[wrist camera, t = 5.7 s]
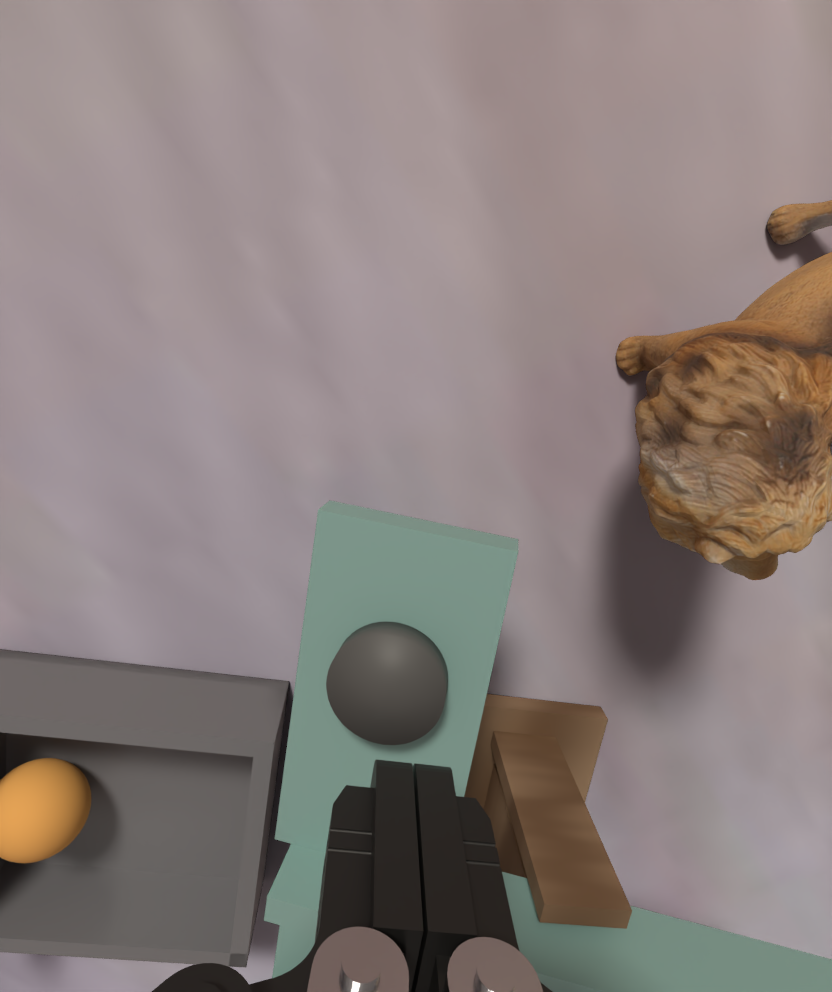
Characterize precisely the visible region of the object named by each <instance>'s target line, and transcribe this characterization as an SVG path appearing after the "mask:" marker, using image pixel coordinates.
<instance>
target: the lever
mask: <svg viewBox="0 0 832 992" xmlns="http://www.w3.org/2000/svg"><path fill="white" fill-rule="evenodd" d="M517 555H518V539H514V538H509V537H504V536H499V535H495V534H490V533H485V532H480V531H475V530H470V529H465V528H461V527H456V526H451V525H446V524H441V523H436V522H432V521H427V520H422V519H417V518H412V517H407V516H402V515H398V514H393V513H388V512H383V511H378V510H373V509H369V508H364V507H359V506H354V505H349V504H344V503H339V502H335V501H329V502H327V503H326V504H325V505H324V506H322V507H321V508H320V509H319V510H318V516H317V523H316V531H315V538H314V546H313V553H312V561H311V569H310V576H309V584H308V591H307V599H306V606H305V614H304V621H303V629H302V636H301V644H300V652H299V659H298V667H297V674H296V682H295V689H294V697H293V704H292V712H291V719H290V727H289V735H288V742H287V750H286V757H285V765H284V772H283V780H282V787H281V795H280V802H279V810H278V817H277V825H276V833H275V839H276V840H279V841H283V842H287V843H290V844H291V845H290V847H289V849H288V852H287V854H286V856H285V858H284V860H283V863H282V865H281V867H280V869H279V871H278V874H277V876H276V878H275V880H274V882H273V885H272V887H271V889H270V891H269V893H268V896H267V901H266V908H265V916H264V921H267V922H270V923H274V924H277V925H280V926H279V933H278V940H277V948H276V955H275V962H274V969H273V976H272V978H275V977H277V976H280V975H283V974H284V973H286V972H288V971H290V970H292V969H293V968H294V967H296V966H297V965H298V964H300V963H301V962H302V961H303V960H304V959H305V958H306V956H307V955H308V954H309V952H310V951H311V949H312V948H313V946H314V944H315V935H316V926H317V918H318V909H319V900H320V891H321V883H322V874H323V866H324V859H325V853H326V846H327V840H328V833H329V827H330V820H331V813H332V807H333V803H334V802H335V800H336V799H337V797H338V796H339V795H340V793H341V792H342V790H343V789H344V787H345V786H346V785H350V786H360V787H370V785H371V779H372V773H373V767H374V763H375V760H376V759H377V760H386V761H395V762H405V763H412V765H414V763H416V764H425V765H435V766H444V767H451V769H452V773H453V780H454V786H455V793H456V796H460V797H464V795H465V791H466V786H467V781H468V777H469V772H470V768H471V763H472V759H473V754H474V750H475V745H476V741H477V736H478V732H479V727H480V723H481V718H482V714H483V709H484V704H485V700H486V695H487V691H488V686H489V682H490V677H491V673H492V668H493V664H494V659H495V655H496V650H497V646H498V641H499V636H500V632H501V627H502V623H503V618H504V614H505V609H506V605H507V600H508V596H509V591H510V587H511V582H512V578H513V573H514V569H515V564H516V559H517ZM502 875H503V879H504V884H505V888H506V893H507V898H508V902H509V907H510V911H511V916H512V921H513V925H514V930H515V935H516V939H517V944H518V947H519V950H520V952H521V953H522V954H523V955H524V956H525V957H526V958H527V959H528V961H529V962H530V963H531V965H532V966H533V968H534V969H535V971H536V973H537V975H538V978H539V980H540V982H541V983H542V984H544V985H545V986H546V987H547V988H548V989H550V990H551V991H553V992H832V959H828V958H825V957H821V956H817V955H813V954H810V953H806V952H802V951H798V950H795V949H791V948H787V947H783V946H780V945H776V944H772V943H768V942H764V941H761V940H757V939H753V938H749V937H746V936H742V935H738V934H734V933H731V932H727V931H723V930H719V929H716V928H712V927H708V926H704V925H701V924H697V923H693V922H689V921H686V920H682V919H678V918H674V917H671V916H667V915H663V914H659V913H656V912H652V911H648V910H644V909H641V908H637V907H633V906H630V907H631V909H632V913H631V916H630V920H629V923H628V926H627V929H623V928H609V927H596V926H582V925H569V924H555V923H542V922H539V919H538V915H537V911H536V908H535V904H534V900H533V897H532V893H531V890H530V886H529V882H528V879H527V878H524V877H520V876H517V875H513V874H509V873H505V872H502Z"/></svg>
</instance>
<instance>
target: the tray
mask: <svg viewBox="0 0 832 992" xmlns="http://www.w3.org/2000/svg"><path fill="white" fill-rule="evenodd" d="M288 687H289V681H281V680H272V679H263V678H254V677H245V676H236V675H227V674H218V673H209V672H200V671H191V670H182V669H173V668H164V667H155V666H146V665H137V664H128V663H119V662H110V661H101V660H92V659H83V658H74V657H65V656H56V655H47V654H38V653H29V652H20V651H11V650H2V649H0V780H1V779H2V778H3V777H4V776H5V775H6V774H7V773H9V772H10V771H12V770H13V769H14V768H16V767H18V766H20V765H22V764H24V763H26V762H29V761H33V760H36V759H42V758H56V759H61V760H65V761H67V762H70V763H72V764H73V765H75V766H76V767H77V768H79V769H80V770H81V771H82V773H83V774H84V775H85V777H86V778H87V780H88V783H89V786H90V790H91V807H90V812H89V815H88V818H87V820H86V823H85V825H84V827H83V828H82V830H81V831H80V833H79V834H78V835H77V837H76V838H75V839H74V840H73V841H72V842H71V843H70V844H69V845H68V846H67V847H65V848H64V849H63V850H62V851H60V852H58V853H57V854H55V855H53V856H51V857H49V858H47V859H44V860H41V861H38V862H33V863H15V862H10V861H7V860H4V859H2V858H1V857H0V952H9V953H25V954H41V955H57V956H73V957H89V958H104V959H120V960H136V961H152V962H168V963H184V964H201V963H216V964H222V965H225V966H232V967H246V965H247V960H248V955H249V950H250V945H251V940H252V935H253V930H254V925H255V920H256V915H257V910H258V905H259V900H260V895H261V890H262V885H263V880H264V872H265V864H266V857H267V849H268V841H269V833H270V826H271V818H272V810H273V803H274V795H275V787H276V779H277V772H278V764H279V756H280V749H281V741H282V733H283V725H284V718H285V710H286V702H287V695H288Z"/></svg>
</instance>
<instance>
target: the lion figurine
mask: <svg viewBox="0 0 832 992" xmlns="http://www.w3.org/2000/svg"><path fill="white" fill-rule="evenodd" d="M828 226H832V200H831V201H826V202H822V203H812V204H791V205H785V206H782V207H780V208H778V209H776V210H775V211H773V212H772V214H771V216H770V218H769V220H768V223H767V229H768V231H769V233H770V235H771V237H772V240H773V241H774V242H775V243H777V244H783V245H784V244H788V243H793V242H795V241H797V240H799V239H800V238H802V237H804V236H805V235H807V234H809V233H811V232H813V231H815V230H818V229H821V228H824V227H828ZM616 361H617V365H618V367H619V368H620V369H622V370H623V371H624V372H625V373H626V374H627V375H629V376H630V375H635V374H637V373H639V372H641V371H643V370H646V371H650V372H649V373H648V375H647V378H646V390H647V395H646V397H645V398H644V399H643V400H641V401H640V402H639V403H638V405H637V406H636V408H635V414H636V421H637V423H636V425H635V427H636V434H637V438H638V441H639V444H640V447H641V449H640V458H641V462H640V464H639V471H640V475H639V478H638V482H639V484H640V486H641V487H642V488H641V493H642V495H643V497H644V499H645V501H646V503H647V504H648V511H649V516H650V520H651V522H652V524H653V525H654V527H655V528H656V530H657V532H658V533H659V535H660V537H661V538H663V539H665V540H669V541H671V542H674V543H677V544H679V545H681V546H682V547H685V548H688V549H690V551H693V552H697V553H699V554H701V555H702V556H703V557H704V558H705V559H706V560H707V561H709V562H710V563H715V564H722V565H723V566H724V567H725V568H726V569H728V570H730V571H732V572H734V573H737V574H740V575H743V576H745V577H746V578H748V579H751V580H761V579H765V578H767V577H769V576H771V575H772V574H773V573H774V572H775V571H776V569H777V566H778V555H780V554H784V553H786V552H793V553H797V552H799V551H801V550H802V549H804V548H805V547H806V546H808V545H809V544H810V542H811V541H812V537H813V535H814V534H815V533H817V532H819V531H820V530H821V529H823V527H824V526H825V524H826V522H828V521H832V479H831V477H832V456H831V451H830V445H831V443H832V252H831V253H828V254H826V255H823V256H821V257H819V258H817V259H815V260H813V261H811V262H809V263H807V264H805V265H804V266H802V267H800V268H799V269H797V270H795V271H794V272H792V273H791V274H789V275H788V276H786V277H785V278H783V279H782V280H780V281H779V282H777V283H776V284H774V285H773V286H772V287H770V288H769V289H768V290H767V291H765V292H764V293H763V294H762V295H761V296H760V297H758V298H757V299H756V300H755V301H754V302H753V303H752V304H751V305H750V306H749V307H748V308H747V309H745V310H744V311H743V312H742V313H741V314H740V315H739V316H738V317H737V318H736V320H735V321H728V322H722V323H718V324H714V325H708V326H704V327H701V328H697V329H693V330H688V331H683V332H677V333H673V334H668V335H662V336H634V337H629V338H627V339H625V340H624V341H622V342H621V343H620V344H619V347H618V350H617V353H616Z"/></svg>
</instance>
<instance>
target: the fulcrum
mask: <svg viewBox="0 0 832 992" xmlns="http://www.w3.org/2000/svg"><path fill="white" fill-rule="evenodd" d="M607 721H608V719H607V717H606V715H605V714H604V712H603V710H602V708H601V707H599V706H590V705H581V704H572V703H563V702H554V701H545V700H536V699H528V698H519V697H510V696H501V695H492V694H487V695H486V700H485V704H484V709H483V714H482V718H481V723H480V727H479V732H478V736H477V741H476V745H475V750H474V754H473V759H472V763H471V768H470V772H469V777H468V781H467V786H466V791H465V795H464V797H470V798H476V799H477V801H478V802H479V804H480V805H481V806H482V808H483V809H484V811H485V812H486V814H487V815H488V817H489V818H490V819H491V824H492V828H493V833H494V838H495V842H496V845H495V847H496V848H497V851H498V856H499V861H500V868H501V870H502V872H505V873H509V874H513V875H517V876H520V877H524V878H527V879H528V882H529V886H530V890H531V893H532V897H533V900H534V904H535V908H536V911H537V915H538V919H539V922H542V923H555V924H569V925H582V926H596V927H609V928H623V929H627V926H628V923H629V920H630V916H631V913H632V909H631V907H630V905H629V902H628V900H627V898H626V896H625V893H624V891H623V889H622V887H621V884H620V882H619V880H618V878H617V875H616V873H615V871H614V868H613V866H612V864H611V862H610V859H609V857H608V855H607V853H606V850H605V848H604V846H603V843H602V841H601V839H600V837H599V834H598V832H597V830H596V828H595V825H594V823H593V821H592V819H591V816H590V814H589V812H588V809H587V807H586V805H585V800H586V796H587V792H588V789H589V785H590V782H591V778H592V775H593V771H594V767H595V764H596V760H597V757H598V753H599V749H600V746H601V742H602V739H603V735H604V732H605V728H606V724H607Z"/></svg>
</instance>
